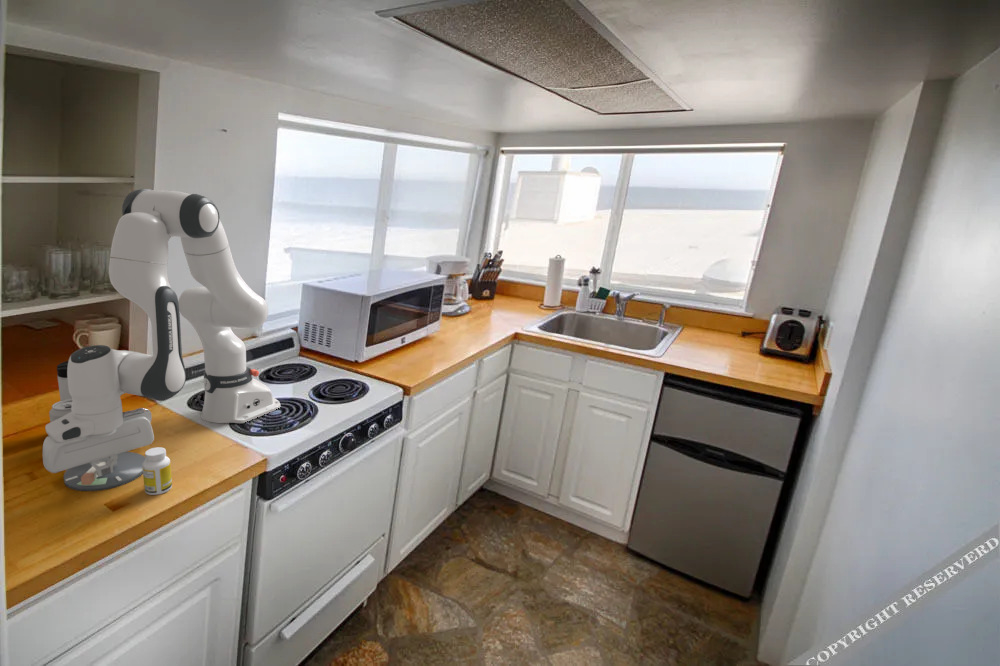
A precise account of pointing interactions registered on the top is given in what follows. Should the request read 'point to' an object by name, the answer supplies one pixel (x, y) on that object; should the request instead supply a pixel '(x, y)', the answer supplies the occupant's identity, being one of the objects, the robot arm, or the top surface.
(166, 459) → the supplement bottle
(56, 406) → the can
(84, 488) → the dial plate
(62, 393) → the travel mug
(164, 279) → the robot arm
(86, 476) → the needle
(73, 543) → the top surface
